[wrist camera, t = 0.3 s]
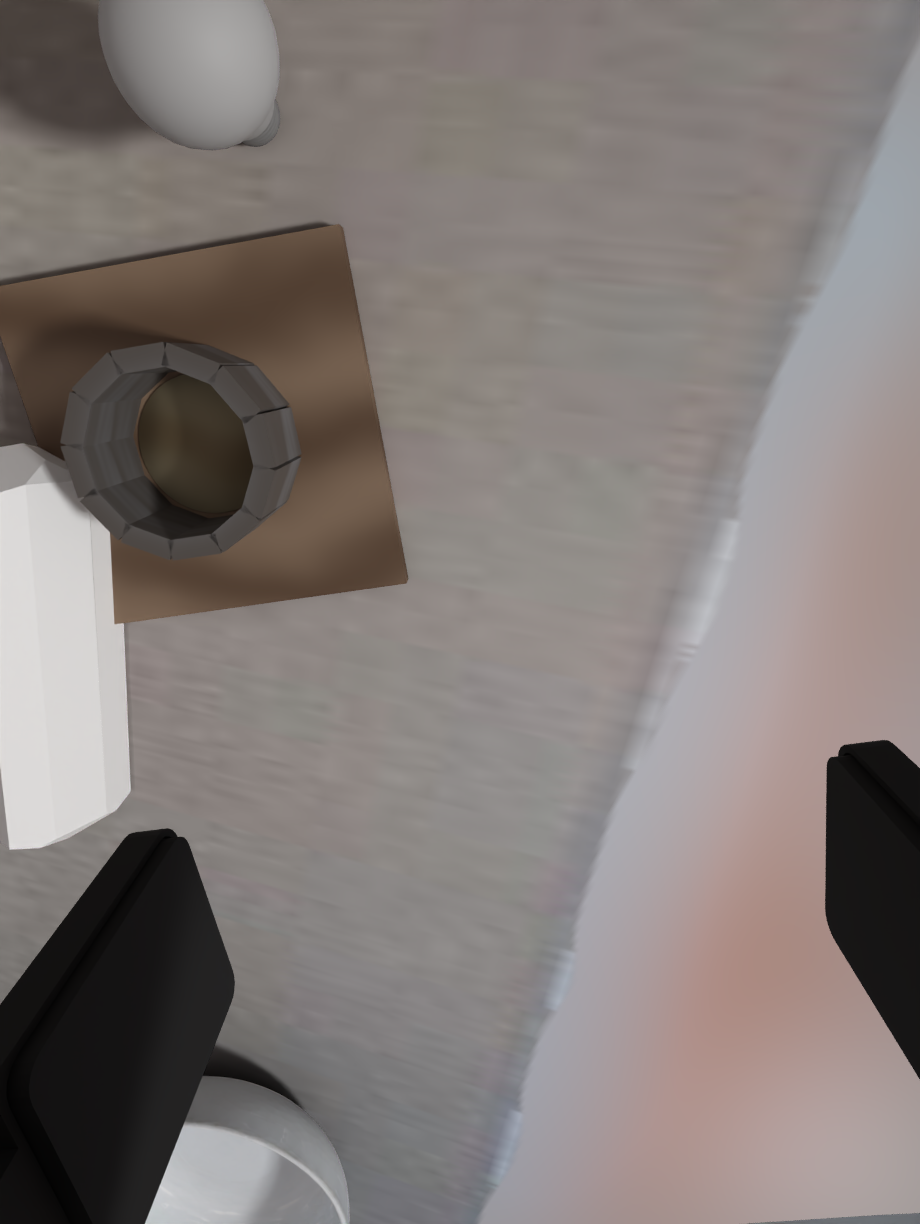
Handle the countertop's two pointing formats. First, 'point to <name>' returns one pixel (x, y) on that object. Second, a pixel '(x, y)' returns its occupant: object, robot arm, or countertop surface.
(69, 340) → the socket
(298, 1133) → the serving bowl
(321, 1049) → the countertop surface
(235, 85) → the lightbulb
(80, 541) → the crystal
